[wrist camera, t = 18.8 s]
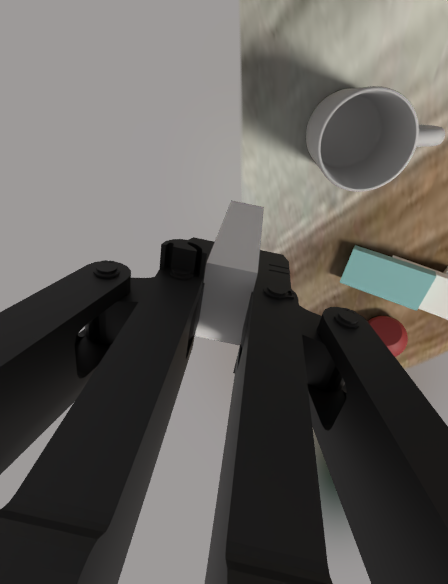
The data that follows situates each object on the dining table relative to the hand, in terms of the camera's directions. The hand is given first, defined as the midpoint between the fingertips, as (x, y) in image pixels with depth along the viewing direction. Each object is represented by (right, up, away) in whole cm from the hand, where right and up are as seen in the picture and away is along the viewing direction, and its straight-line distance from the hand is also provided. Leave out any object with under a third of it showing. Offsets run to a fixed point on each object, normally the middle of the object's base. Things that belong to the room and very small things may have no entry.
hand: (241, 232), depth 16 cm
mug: (+15, +15, +23) cm, 31 cm away
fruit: (+23, -9, +36) cm, 43 cm away
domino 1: (+16, +1, +30) cm, 34 cm away
